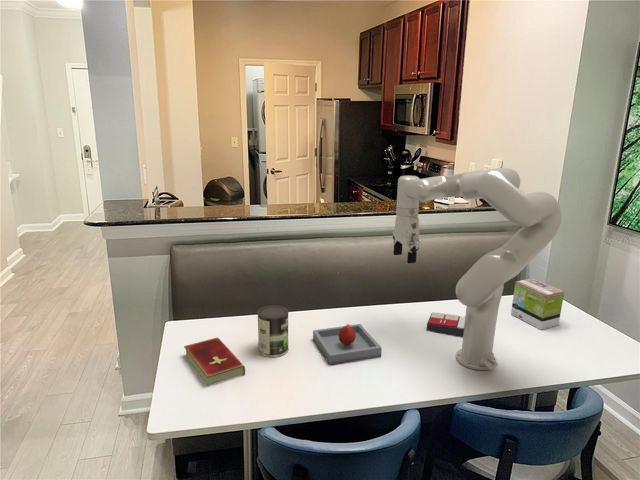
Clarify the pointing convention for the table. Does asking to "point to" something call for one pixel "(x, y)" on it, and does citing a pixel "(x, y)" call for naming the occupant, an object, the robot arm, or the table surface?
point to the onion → (347, 335)
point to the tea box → (537, 303)
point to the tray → (341, 353)
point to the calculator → (446, 324)
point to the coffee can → (273, 331)
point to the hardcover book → (214, 361)
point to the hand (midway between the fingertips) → (404, 258)
